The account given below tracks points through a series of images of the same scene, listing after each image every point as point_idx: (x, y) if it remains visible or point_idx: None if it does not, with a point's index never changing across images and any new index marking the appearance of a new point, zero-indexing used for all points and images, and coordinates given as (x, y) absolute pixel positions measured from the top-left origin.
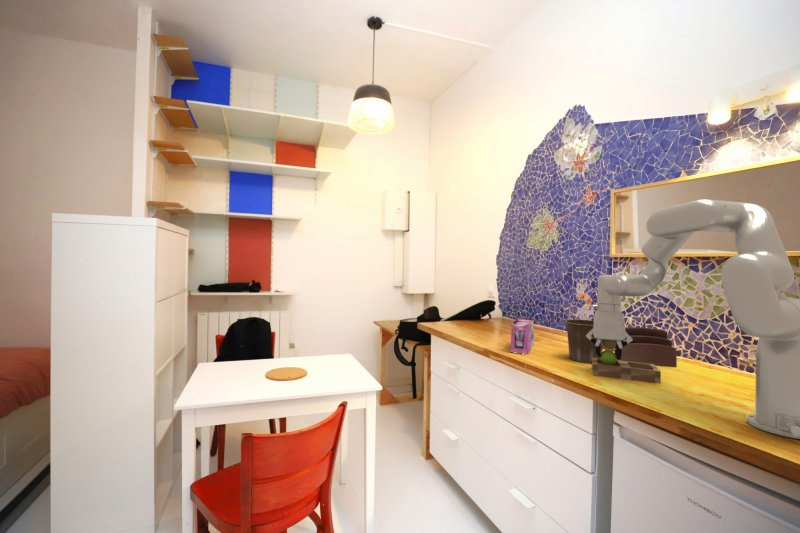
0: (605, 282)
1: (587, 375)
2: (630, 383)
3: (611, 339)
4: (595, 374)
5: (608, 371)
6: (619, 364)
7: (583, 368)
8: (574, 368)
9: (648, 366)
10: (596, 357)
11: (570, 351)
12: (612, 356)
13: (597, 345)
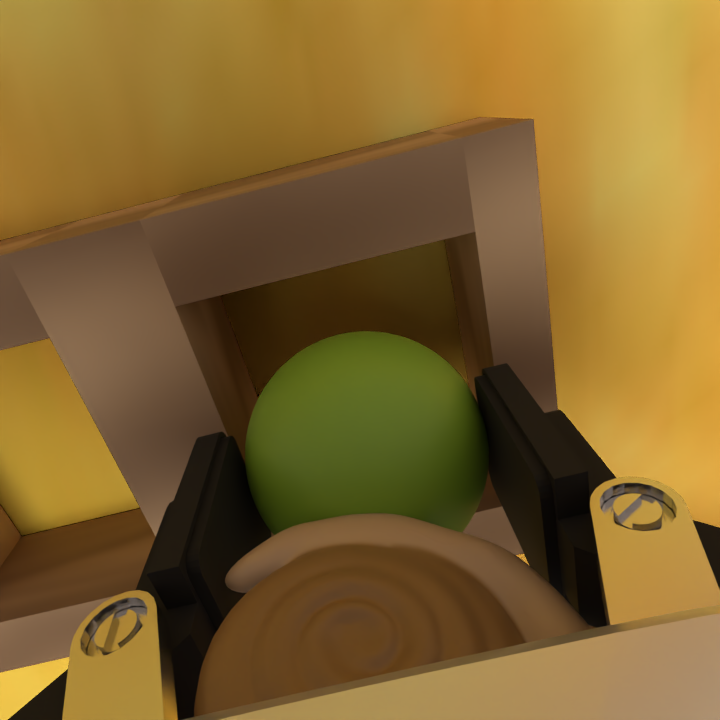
0: None
1: (545, 64)
2: (24, 31)
3: (281, 705)
4: (460, 124)
5: (313, 167)
6: (216, 406)
7: (598, 384)
8: (689, 316)
9: None
10: None
11: None
12: (287, 403)
13: (620, 501)
